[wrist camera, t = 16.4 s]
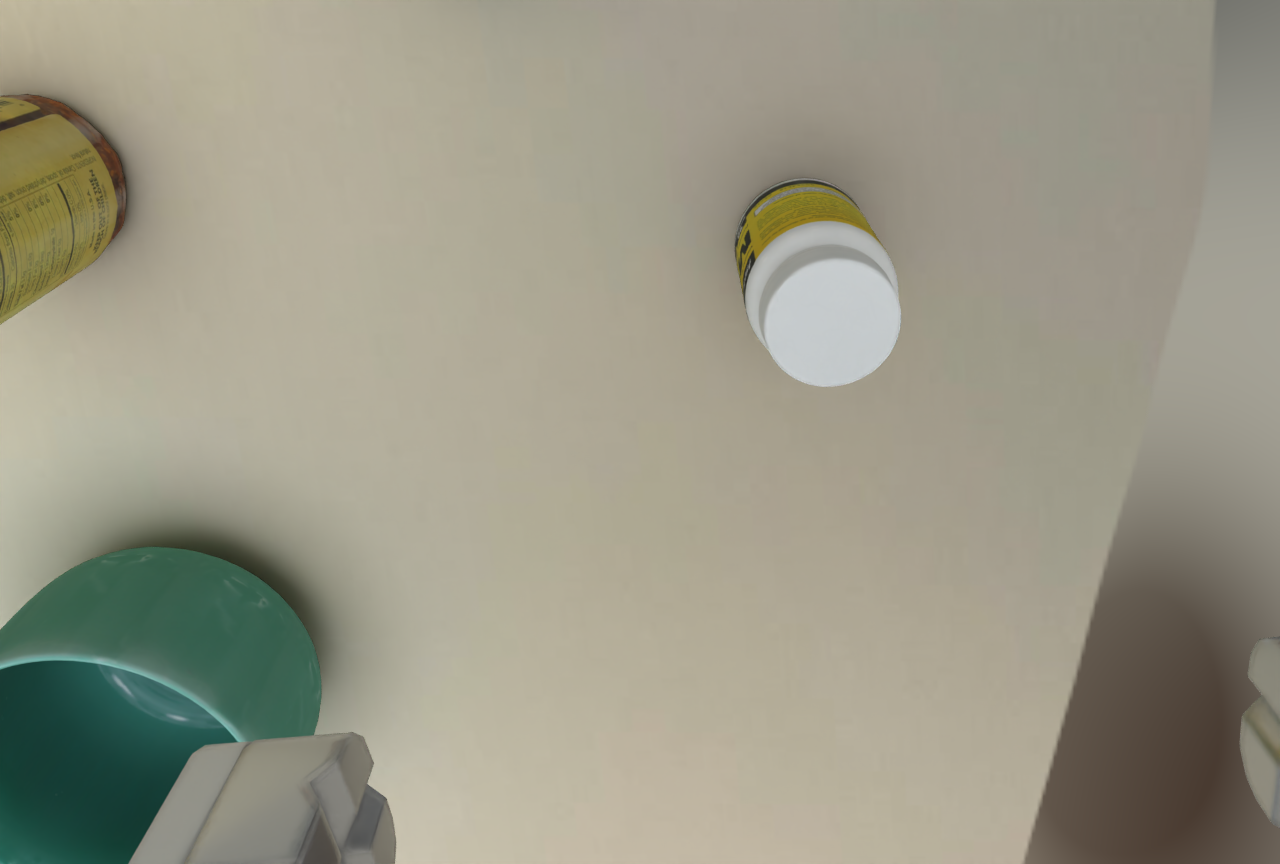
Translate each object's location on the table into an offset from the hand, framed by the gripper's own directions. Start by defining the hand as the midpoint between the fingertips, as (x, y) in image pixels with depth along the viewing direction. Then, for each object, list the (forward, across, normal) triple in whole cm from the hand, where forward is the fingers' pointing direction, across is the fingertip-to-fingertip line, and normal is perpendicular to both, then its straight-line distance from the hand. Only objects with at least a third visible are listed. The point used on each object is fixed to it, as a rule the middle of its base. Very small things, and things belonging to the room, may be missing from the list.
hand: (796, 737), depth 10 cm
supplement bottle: (+29, -3, +4) cm, 30 cm away
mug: (+29, +26, +19) cm, 44 cm away
